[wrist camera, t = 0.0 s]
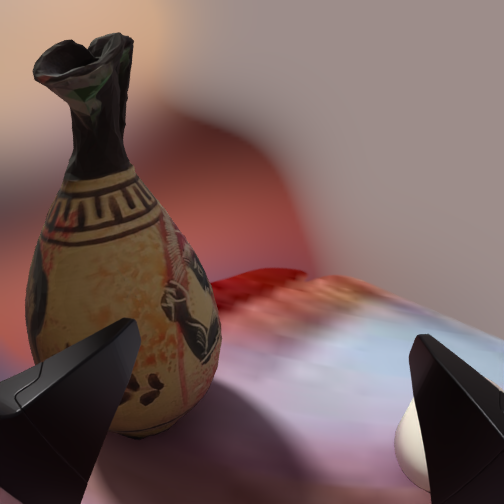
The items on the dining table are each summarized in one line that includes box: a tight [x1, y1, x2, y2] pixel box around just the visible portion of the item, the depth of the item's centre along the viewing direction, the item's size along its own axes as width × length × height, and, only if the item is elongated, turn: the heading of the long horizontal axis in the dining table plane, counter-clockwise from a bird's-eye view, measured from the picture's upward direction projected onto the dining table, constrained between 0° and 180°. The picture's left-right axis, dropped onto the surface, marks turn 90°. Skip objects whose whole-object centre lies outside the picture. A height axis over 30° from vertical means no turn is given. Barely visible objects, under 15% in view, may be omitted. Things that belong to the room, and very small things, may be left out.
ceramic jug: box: [25, 33, 222, 440], centre depth 20 cm, size 17×15×30 cm
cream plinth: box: [394, 378, 504, 492], centre depth 17 cm, size 11×11×4 cm
